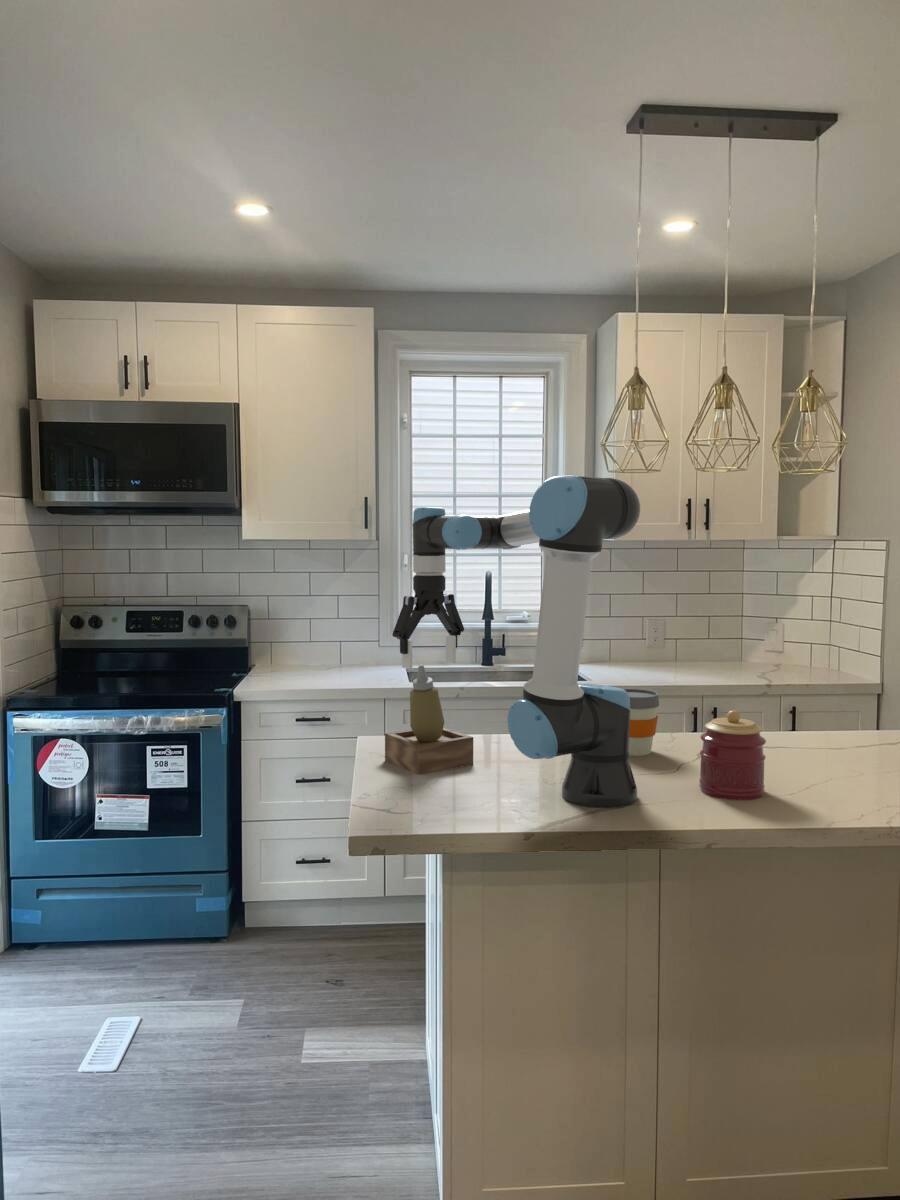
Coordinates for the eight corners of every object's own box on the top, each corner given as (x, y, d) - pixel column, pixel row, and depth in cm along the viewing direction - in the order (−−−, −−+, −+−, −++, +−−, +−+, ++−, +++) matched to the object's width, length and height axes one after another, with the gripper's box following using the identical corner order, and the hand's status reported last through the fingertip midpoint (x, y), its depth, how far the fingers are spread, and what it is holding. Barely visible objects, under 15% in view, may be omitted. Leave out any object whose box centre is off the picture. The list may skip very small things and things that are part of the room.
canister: (775, 794, 182) (777, 710, 181) (746, 807, 173) (749, 719, 172) (717, 781, 191) (719, 702, 190) (687, 794, 182) (689, 710, 181)
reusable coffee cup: (595, 751, 218) (596, 691, 217) (630, 744, 225) (631, 686, 224) (633, 761, 208) (635, 699, 207) (668, 754, 215) (670, 694, 214)
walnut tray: (473, 767, 204) (473, 737, 203) (419, 777, 195) (419, 745, 195) (437, 754, 216) (437, 725, 215) (385, 763, 207) (384, 733, 207)
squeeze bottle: (442, 744, 200) (434, 671, 196) (408, 745, 202) (399, 672, 197) (448, 730, 208) (441, 659, 203) (416, 730, 210) (407, 660, 205)
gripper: (457, 572, 213) (457, 658, 215) (376, 575, 196) (377, 668, 198) (478, 573, 208) (478, 661, 209) (398, 576, 191) (398, 672, 192)
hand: (429, 665), depth 204 cm, fingers open, 13 cm apart
